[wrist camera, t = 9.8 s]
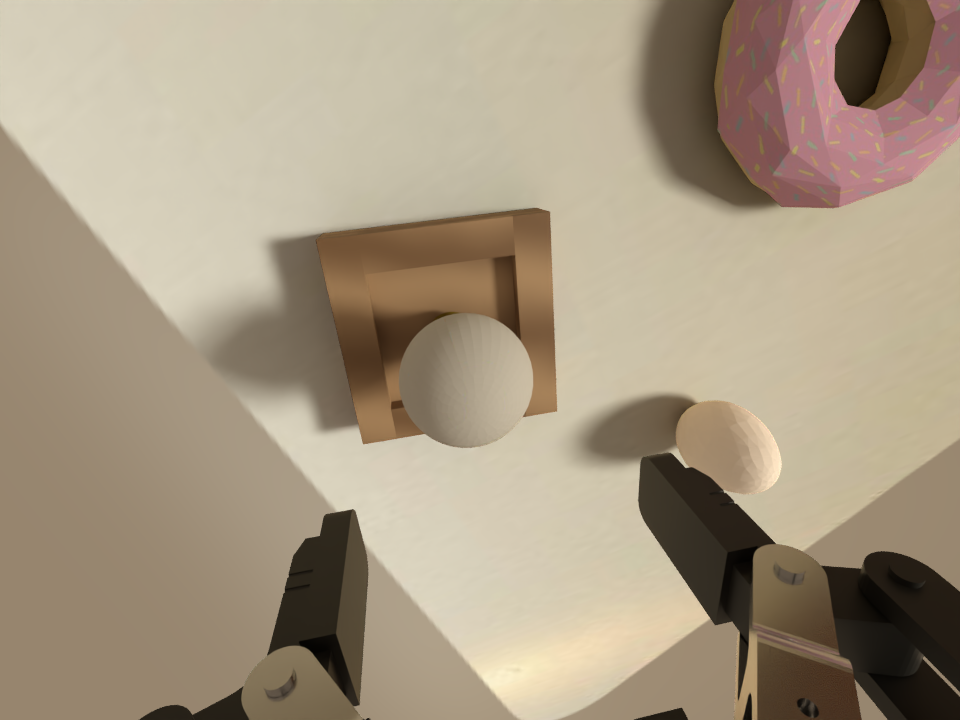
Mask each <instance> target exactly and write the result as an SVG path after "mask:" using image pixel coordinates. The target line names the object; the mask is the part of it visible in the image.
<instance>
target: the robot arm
mask: <svg viewBox="0 0 960 720" xmlns="http://www.w3.org/2000/svg"><path fill="white" fill-rule="evenodd" d="M638 501H639V508H640V512H641V515H642V517H643V519H644V521H645V523H646V525H647V526H648V527H649V529H650V530H651V532H652V533H653V535H654V536H655V538H656V539H657V541H658V542H659V544H660V545H661V546H662V548H663V549H664V551H665V552H666V554H667V555H668V557H669V558H670V560H671V561H672V563H673V564H674V566H675V567H676V568H677V570H678V571H679V573H680V574H681V576H682V577H683V579H684V580H685V582H686V583H687V585H688V586H689V588H690V589H691V590H692V592H693V593H694V595H695V596H696V598H697V599H698V601H699V602H700V604H701V605H702V607H703V608H704V610H705V611H706V612H707V614H708V615H709V617H710V618H711V620H712V621H713V623H714V624H715V625H718V624H723V623H727V622H731V621H732V622H733V623H734V624H735V626H736V627H737V629H738V630H739V631H738V637H737V655H736V656H737V657H736V682H735V709H734V720H862V718H861V713H860V707H859V701H858V696H857V690H856V684H855V680H856V681H857V682H858V683H859V685H860V686H861V687H862V688H863V690H864V691H865V692H866V693H867V695H868V696H869V697H870V698H871V700H872V701H873V702H874V703H875V704H876V706H877V707H878V708H879V709H880V711H881V712H882V713H883V714H884V715H885V717H886V718H887V719H888V720H960V697H959V696H958V695H957V694H956V693H955V692H954V691H953V690H952V688H951V687H950V686H948V684H947V683H946V682H945V681H944V680H943V679H942V678H941V677H940V676H939V675H938V674H937V673H936V672H935V671H934V670H933V669H932V668H931V667H930V666H929V665H928V664H927V663H926V662H925V661H924V660H923V657H924V656H925V657H926V658H927V659H928V660H929V661H930V662H931V663H932V664H933V665H934V666H935V667H936V668H937V669H938V670H939V671H940V672H941V673H942V674H943V675H944V676H945V677H946V678H947V679H948V680H949V681H950V682H951V683H952V684H953V685H954V686H955V687H956V688H957V690H958V691H959V692H960V592H959V591H958V590H957V589H956V588H955V587H954V586H952V585H951V584H950V583H949V582H947V581H946V580H945V579H944V578H942V577H941V576H940V575H939V574H938V573H936V572H935V571H934V570H932V569H931V568H929V567H928V566H927V565H925V564H923V563H921V562H919V561H917V560H915V559H913V558H911V557H908V556H905V555H902V554H898V553H894V552H885V551H883V552H882V551H881V552H875V553H871V554H869V555H868V556H867V557H866V558H865V560H864V562H863V565H862V568H861V569H856V568H844V567H829V566H821V565H820V564H819V563H818V562H817V561H816V560H814V559H813V558H812V557H810V556H809V555H807V554H806V553H804V552H802V551H800V550H798V549H795V548H793V547H789V546H785V545H779V544H776V543H775V542H774V541H773V540H772V539H771V538H770V537H769V536H768V535H767V534H766V533H765V532H764V531H763V530H762V529H761V528H760V527H759V526H758V525H757V524H756V523H755V522H754V521H753V520H752V519H751V518H750V517H749V516H748V515H747V514H746V513H745V512H744V511H743V510H742V509H741V508H740V507H739V506H738V505H737V504H735V503H734V501H733V499H732V498H731V497H730V496H729V495H728V494H727V493H724V491H723V489H722V488H721V487H720V486H719V485H718V484H717V483H716V482H715V481H714V480H713V479H712V478H711V477H709V476H708V475H706V474H704V473H702V472H700V471H699V470H697V469H695V468H693V467H690V468H685V467H684V466H683V465H682V464H681V463H680V462H679V460H678V459H677V458H676V457H675V456H674V455H673V454H671V453H663V454H657V455H652V456H646V457H643V458H642V460H641V464H640V480H639V497H638ZM367 587H368V561H367V554H366V550H365V546H364V542H363V538H362V534H361V530H360V527H359V523H358V519H357V515H356V512H355V510H354V509H352V510H347V511H341V512H336V513H330V514H326V515H325V516H324V518H323V523H322V528H321V533H320V536H318V537H312V538H307V539H305V540H304V542H303V543H302V545H301V546H300V547H299V549H298V550H297V552H296V553H295V554H294V556H293V559H292V563H291V567H290V571H289V578H287V582H286V586H285V593H284V594H283V598H282V602H281V606H280V609H279V613H278V617H277V621H276V625H275V629H274V632H273V636H272V640H271V644H270V648H269V652H268V654H267V656H266V657H265V658H264V659H262V660H261V661H260V662H259V663H258V664H257V666H255V667H254V669H253V670H252V671H251V673H250V674H249V676H248V678H247V680H246V681H245V684H244V686H243V687H242V688H240V689H239V690H238V691H236V692H235V693H233V694H231V695H230V696H228V697H226V698H224V699H222V700H220V701H218V702H216V703H215V704H213V705H211V706H209V707H207V708H205V709H203V710H201V711H199V712H197V713H195V714H194V715H192V714H191V712H190V711H189V710H188V709H187V708H185V707H183V706H179V705H170V706H165V707H162V708H159V709H157V710H155V711H153V712H151V713H149V714H147V715H146V716H144V717H143V718H141V719H140V720H364V719H363V718H362V717H361V716H360V714H359V713H358V712H357V711H356V709H355V708H354V706H357V705H360V690H361V675H362V661H363V645H364V631H365V615H366V600H367ZM366 720H371V719H369V718H367V719H366ZM635 720H688V719H687V717H686V715H685V713H684V711H683V709H682V708H679V709H674V710H671V711H667V712H662V713H658V714H654V715H651V716H646V717H642V718H638V719H635Z"/></svg>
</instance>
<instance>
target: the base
mask: <svg viewBox="0 0 960 720" xmlns="http://www.w3.org/2000/svg"><path fill="white" fill-rule="evenodd" d="M316 243H317V247H318V252H319V256H320V260H321V265H322V269H323V273H324V278H325V282H326V286H327V291H328V295H329V299H330V303H331V308H332V312H333V316H334V321H335V325H336V329H337V334H338V338H339V342H340V347H341V351H342V355H343V360H344V364H345V368H346V372H347V377H348V381H349V385H350V390H351V394H352V398H353V403H354V407H355V411H356V416H357V420H358V424H359V429H360V433H361V437H362V441H363V444H368V443H374V442H380V441H386V440H391V439H397V438H403V437H409V436H415V435H421V434H425V433H424V432H422V431H421V430H420V429H419V428H418V427H417V426H416V425H415V424H414V422H413V421H412V420H411V418H410V417H409V415H408V413H407V411H406V410H405V408H404V405H403V402H402V399H401V396H400V389H399V370H400V366H401V361H402V358H403V356H404V353H405V351H406V349H407V347H408V346H409V344H410V342H411V341H412V340H413V338H414V337H415V336H416V335H417V334H418V333H419V332H420V331H421V330H422V329H423V328H424V327H426V326H427V325H428V324H430V323H432V321H433V320H434V319H435V318H436V317H437V316H439V315H440V314H443V313H446V312H458V313H475V314H480V315H485V316H487V317H490V318H493V319H495V320H497V321H499V322H500V323H502V324H504V325H505V326H506V327H508V328H509V329H510V330H511V331H512V332H513V333H514V334H515V335H516V336H517V337H518V338H519V340H520V341H521V342H522V344H523V346H524V347H525V349H526V351H527V353H528V356H529V359H530V361H531V366H532V371H533V390H532V396H531V399H530V402H529V405H528V408H527V410H526V412H525V414H524V415H523V417H526V416H532V415H538V414H544V413H550V412H555V411H557V395H556V367H555V340H554V312H553V284H552V256H551V228H550V212H549V211H546V210H542V209H539V208H532V209H524V210H515V211H507V212H499V213H490V214H482V215H473V216H465V217H457V218H448V219H440V220H432V221H423V222H415V223H407V224H398V225H390V226H381V227H373V228H365V229H356V230H348V231H340V232H331V233H323V234H322V235H321V236H320V237H319V238H318V239H316Z"/></svg>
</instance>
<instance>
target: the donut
mask: <svg viewBox="0 0 960 720" xmlns="http://www.w3.org/2000/svg"><path fill="white" fill-rule="evenodd" d="M879 1H880V3H881V5H882V8H883V10H884V12H885V14H886V17H887V21H888V25H889V29H890V34H891V38H892V39H891V43H890V46H889V49H888V53H887V56H886V59H885V62H884V66H883V69H882V72H881V76H880V79H879V82H878V85H877V89H876V92H875V94H874V95H872V96H871V97H870V98H869V99H867V100H866V101H865V102H864V103H862V104H861V105H860V106H859V107H855V106H850V105H847V103H846V101H845V99H844V98H843V96H842V94H841V92H840V90H839V88H838V86H837V84H836V82H835V80H834V69H835V45H836V43H837V41H838V39H839V38H840V36H841V34H842V32H843V30H844V29H845V27H846V25H847V23H848V21H849V20H850V18H851V16H852V14H853V13H854V11H855V9H856V7H857V5H858V4H859V2H860V0H734V2H733V4H732V6H731V8H730V10H729V12H728V14H727V16H726V18H725V20H724V21H723V28H722V34H721V41H720V48H719V54H718V61H717V67H716V74H715V81H714V89H715V96H716V104H717V112H718V129H717V131H718V132H719V133H720V135H721V140H722V141H723V143H724V144H725V145H726V147H727V148H728V150H729V151H730V153H731V154H732V156H733V157H734V159H735V160H736V162H737V163H738V164H739V166H740V167H741V169H742V170H743V172H744V173H745V175H746V176H747V178H748V179H749V181H750V182H751V183H752V184H754V185H755V186H757V187H759V188H760V189H762V190H763V191H765V192H767V193H768V194H769V195H770V196H771V197H772V198H773V199H774V200H775V201H776V202H777V203H778V204H779V205H780V206H781V207H810V208H837V207H841V206H844V205H847V204H850V203H852V202H855V201H858V200H861V199H864V198H866V197H869V196H872V195H875V194H878V193H880V192H883V191H886V190H889V189H892V188H894V187H897V186H900V185H903V184H905V183H908V182H911V181H913V180H914V179H915V178H916V177H917V176H918V175H919V174H920V173H922V172H923V171H924V170H925V169H926V168H927V167H928V166H929V165H930V164H931V163H932V162H933V161H934V160H936V159H937V158H938V157H939V156H940V155H941V154H942V153H943V152H944V151H945V150H946V149H947V148H948V147H950V146H951V145H952V144H953V143H954V142H955V141H956V140H957V139H958V138H959V137H960V0H879Z"/></svg>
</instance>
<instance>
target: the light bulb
mask: <svg viewBox="0 0 960 720" xmlns="http://www.w3.org/2000/svg"><path fill="white" fill-rule="evenodd" d="M399 389H400V396H401V399H402V402H403V405H404V408H405V410H406V411H407V413H408V415H409V417H410V418H411V420H412V421H413V422H414V424H415V425H416V426H417V427H418V428H419V429H420V430H421V431H422V432H424V433H425V434H426V435H427V436H429V437H431V438H432V439H434V440H436V441H438V442H440V443H442V444H446V445H449V446H453V447H460V448H472V447H479V446H483V445H487V444H490V443H492V442H494V441H497V440H498V439H500V438H502V437H503V436H505V435H506V434H507V433H509V432H510V431H511V430H512V429H513V428H514V427H515V426H516V425H517V424H518V422H519V421H520V420H521V418H522V417H523V415H524V414H525V412H526V410H527V408H528V405H529V402H530V399H531V396H532V390H533V371H532V366H531V361H530V359H529V356H528V353H527V351H526V349H525V347H524V346H523V344H522V342H521V341H520V340H519V338H518V337H517V336H516V335H515V334H514V333H513V332H512V331H511V330H510V329H509V328H508V327H506V326H505V325H504V324H502V323H500V322H499V321H497V320H495V319H493V318H490V317H487V316H485V315H480V314H475V313H458V312H446V313H443V314H440V315H439V316H437V317H436V318H435V319H434V320H433V321H432V323H430V324H428V325H427V326H426V327H424V328H423V329H422V330H421V331H420V332H419V333H418V334H417V335H416V336H415V337H414V338H413V340H412V341H411V342H410V344H409V346H408V347H407V349H406V351H405V353H404V356H403V358H402V361H401V366H400V370H399Z"/></svg>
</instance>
